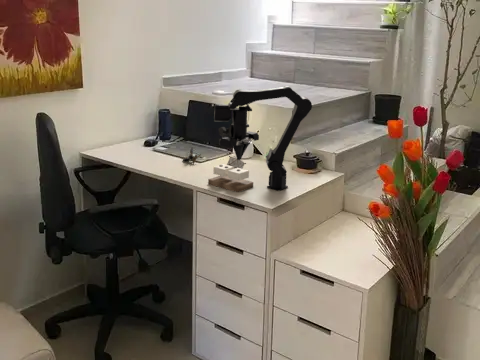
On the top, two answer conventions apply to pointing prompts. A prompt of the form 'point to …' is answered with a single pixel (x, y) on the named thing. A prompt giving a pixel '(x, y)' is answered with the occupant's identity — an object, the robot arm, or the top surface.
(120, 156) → the top surface
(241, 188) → the brown flat slab
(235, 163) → the game die
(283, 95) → the robot arm
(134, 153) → the top surface
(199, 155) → the eagle figurine
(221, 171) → the tile two
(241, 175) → the tile one
